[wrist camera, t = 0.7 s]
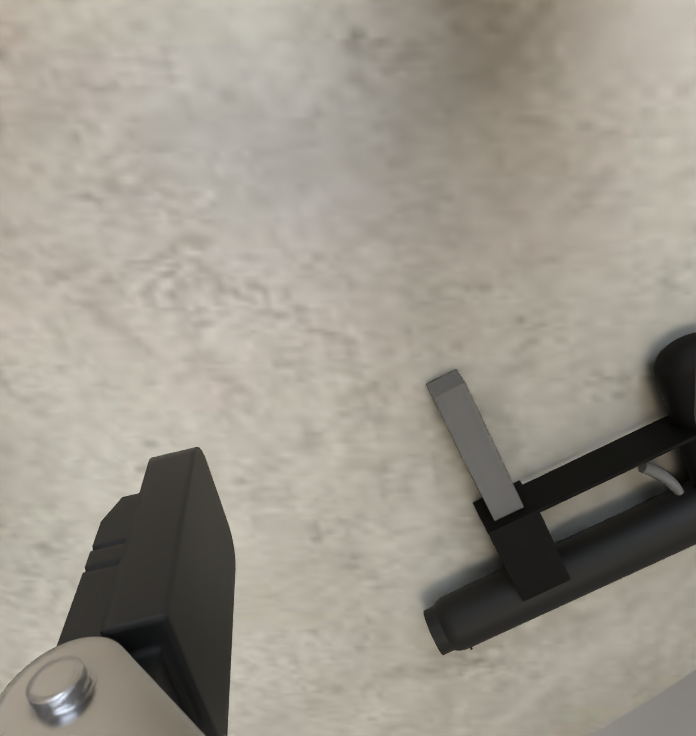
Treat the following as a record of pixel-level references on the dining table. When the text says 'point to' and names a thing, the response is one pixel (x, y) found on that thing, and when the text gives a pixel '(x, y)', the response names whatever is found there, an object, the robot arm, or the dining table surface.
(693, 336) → the black staple gun
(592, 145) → the dining table surface
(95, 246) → the dining table surface
